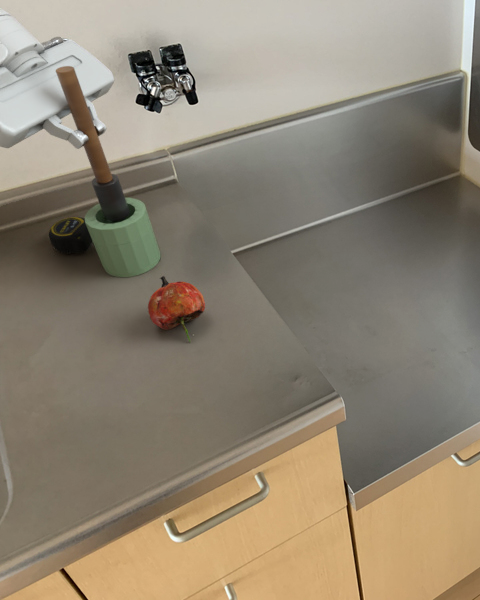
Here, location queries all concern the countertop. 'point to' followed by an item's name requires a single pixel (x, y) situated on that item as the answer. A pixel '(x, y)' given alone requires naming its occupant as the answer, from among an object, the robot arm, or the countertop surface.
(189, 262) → the countertop surface
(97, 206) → the green tube segment
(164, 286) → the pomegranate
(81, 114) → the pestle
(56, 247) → the tape measure
